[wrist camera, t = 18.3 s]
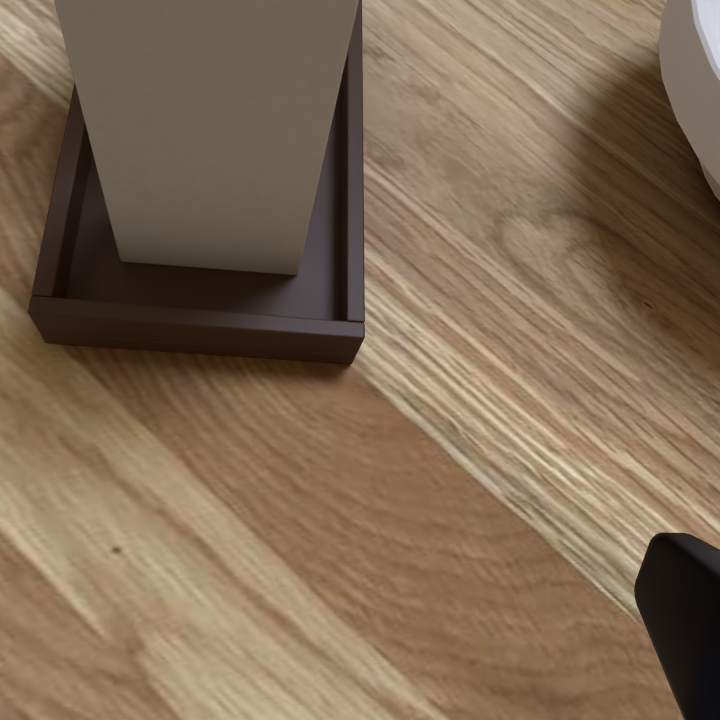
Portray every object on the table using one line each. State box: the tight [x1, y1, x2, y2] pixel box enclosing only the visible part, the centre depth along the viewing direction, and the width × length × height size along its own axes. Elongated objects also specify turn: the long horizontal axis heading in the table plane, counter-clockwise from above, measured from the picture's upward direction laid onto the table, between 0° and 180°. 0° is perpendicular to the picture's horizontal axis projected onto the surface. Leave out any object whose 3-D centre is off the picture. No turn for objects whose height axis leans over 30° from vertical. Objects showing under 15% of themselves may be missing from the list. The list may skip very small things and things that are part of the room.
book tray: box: [28, 0, 365, 364], centre depth 25 cm, size 17×10×2 cm, turn 0°
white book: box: [54, 0, 359, 275], centre depth 17 cm, size 2×6×15 cm, turn 91°
